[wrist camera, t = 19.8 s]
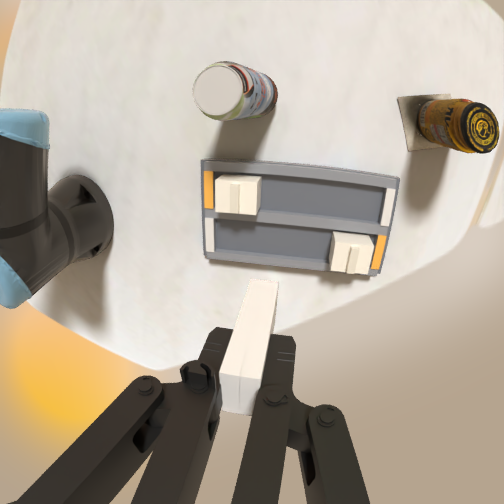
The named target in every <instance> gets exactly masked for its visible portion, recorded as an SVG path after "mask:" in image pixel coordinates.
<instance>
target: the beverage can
mask: <svg viewBox="0 0 504 504" xmlns="http://www.w3.org/2000/svg"><path fill="white" fill-rule="evenodd" d="M193 98H194V101H195V103H196V105H197V106H198V108H199V109H200V110H201V111H202V112H203V113H204V114H205V115H206V116H208V117H209V118H212V119H214V120H219V121H227V120H236V119H247V118H258V117H262V116H264V115H266V114H268V113H269V112H270V111H271V110H272V109H273V108H274V106H275V104H276V102H277V98H278V92H277V88H276V85H275V83H274V82H273V81H272V79H271V78H269V77H268V76H267V75H265V74H263V73H260V72H258V71H255V70H253V69H250V68H248V67H245V66H242V65H240V64H237V63H234V62H228V61H223V62H217V63H214V64H212V65H210V66H208V67H207V68H206V69H204V70H203V71H202V72H201V73H200V74H199V75H198V76H197V78H196V80H195V82H194V85H193Z"/></svg>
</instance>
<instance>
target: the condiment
mask: <svg viewBox="0 0 504 504" xmlns="http://www.w3.org/2000/svg"><path fill="white" fill-rule="evenodd" d="M398 101H399V106H400V111H401V115H402V120H403V125H404V130H405V135H406V141H407V146H408V151H414V150H422V149H430V148H437V147H449V148H452V149H455V150H457V151H462V152H466V153H475V152H477V153H480V154H481V153H482V154H483V153H488V152H491V151H492V150H493V149H494V148H495V147H496V145H497V143H498V139H499V126H498V121H497V119H496V117H495V115H494V114H493V112H492V111H491V109H490V108H488V107H487V106H486V105H484V104H482V103H477V102H472V101H470V100H467V99H451V95H450V94H436V95H419V96H406V97H398ZM419 104H420V105H419ZM417 132H418V133H419V134H418V133H417ZM420 134H421V135H422V136H421V135H420Z"/></svg>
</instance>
